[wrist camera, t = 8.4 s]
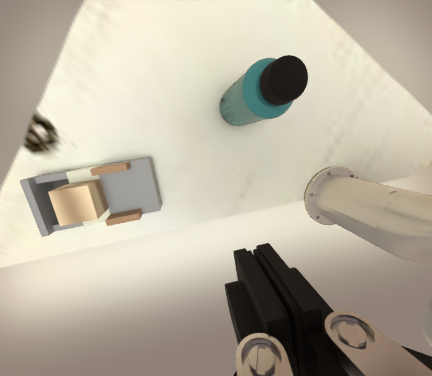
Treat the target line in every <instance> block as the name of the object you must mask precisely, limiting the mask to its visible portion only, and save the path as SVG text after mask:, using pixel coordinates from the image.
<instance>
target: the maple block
mask: <svg viewBox="0 0 432 376" xmlns="http://www.w3.org/2000/svg"><path fill="white" fill-rule="evenodd" d="M48 193H49V196H50V199H51V202H52V205H53V208H54V210H55V213H56V216H57V219H58V222H59V225H60V226H64V225H69V224H75V223H80V222H86V221H91V220H96V219H99V218H100V217H101V216H102V215H103V214H104V213H105V211H106V210H107V209H108V208H109V207H108V203H107V200H106V196H105V193H104V189H103V186H102V182H101V179H95V180H89V181H83V182H77V183H71V184H66V185H64V186H61V187H59V188H56V189H54V190H51V191H49V192H48Z"/></svg>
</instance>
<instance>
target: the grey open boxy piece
mask: <svg viewBox="0 0 432 376" xmlns="http://www.w3.org/2000/svg"><path fill="white" fill-rule="evenodd" d="M95 179H101V182H102V186H103V189H104V193H105V196H106V200H107V203H108V207H109V208H108V209H107V210H106V211H105V213H104V214H103V215H102V216H101V217H100V218H99V219H96V220H91V221H86V222H80V223H75V224H69V225H64V226H60V225H59V222H58V219H57V216H56V213H55V210H54V208H53V205H52V202H51V199H50V196H49V193H48V192H49V191H51V190H54V189H56V188H59V187H61V186H64V185H66V184H71V183H77V182H83V181H89V180H95ZM20 183H21V185H22V188H23V190H24V193H25V195H26V198H27V200H28V203H29V205H30V208H31V211H32V213H33V216H34V218H35V221H36V223H37V226H38V228H39V231H40V233H41V236H42V237H43V236H49V235H50V234H51V233H53V232H54V231H59V230H64V229H69V228H74V227H79V226H84V225H89V224H94V223H99V222H104V221H106V224H107V226H109V225H114V224H119V223H124V222H129V221H134V220H139V219H140V218H141V216H142V214H145V213H150V212H155V211H160V209H161V205H162V203H161V199H160V194H159V190H158V186H157V181H156V177H155V172H154V168H153V164H152V159H151V157H147V158H140V159H134V160H128V161H122V162H116V163H110V164H104V165H98V166H92V167H86V168H79V169H73V170H67V171H61V172H55V173H49V174H43V175H38V176H35V177H31V178H27V179H24V180H20Z"/></svg>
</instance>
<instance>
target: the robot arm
mask: <svg viewBox="0 0 432 376" xmlns="http://www.w3.org/2000/svg"><path fill="white" fill-rule="evenodd" d="M305 207H306V210H307V212H308V214H309V215H310V217H311V218H312V219H314V220H315V221H317V222H319V223H321V224H324V225H333V224H337V225H339V226H341V227H343V228H345V229H347V230H348V231H351V232H352V233H354V234H356V235H358V236H359V237H361V238H363V239H365V240H367V241H369V242H370V243H372V244H374V245H376V246H378V247H380V248H382V249H383V250H385V251H387V252H389V253H391V254H393V255H395V256H397V257H399V258H402V259H405V260H409V261H415V262H417V261H418V262H431V261H432V196H431V195H427V194H422V193H417V192H412V191H408V190H403V189H400V188H395V187H390V186H386V185H382V184H378V183H373V182H369V181H365V180H360V179H358V178H357V177H356V175H355V174H354V173H353V172H352V171H350V170H348V169H346V168H342V167H330V168H327V169H325V170H323V171H321V172H319V173H318V174H317V175H316V176H315V177H314V178H313V179H312V180H311V182H310V183H309V185H308V187H307V190H306V193H305ZM253 253H254V255H253V254H252V252H251V251H247V250H246V249H245V248H244V249H240V250H236V251H234V258H235V265H236V271H237V278H238V281H235V282H231V283H227V284H225V290H226V296H227V301H228V306H229V310H230V315H231V319H232V323H233V327H234V331H235V334H236V338H237V342H238V348H237V351H236V366H237V367H236V368H237V370H236V373H235V374H234V376H432V357H431V356H428V355H425V354H422V353H420V352H417V351H414V350H411V349H409V348H406V347H403V346H400V345H399V344H398V343H396V342H395V341H394V340H392V339H391V338H390V337H389V336H388V335H387V334H385V333H384V332H383V331H382V330H380V329H379V328H378V327H377V326H375V325H374V324H373V323H372V322H370V321H369V320H367V319H366V318H364V317H363V316H360V315H358V314H356V313H353V312H349V311H336V312H334V311H333V310H332V309H331V308H330V307H329V305H328V304H327V303H326V302H325V301H324V300H323V298H322V297H321V296H320V295H319V294H318V293H317V292H316V290H315V289H314V288H313V287H312V286H311V285H310V284H309V282H308V281H307V280H306V279H305V278H304V277H303V276H302V274H301V273H300V272H299V271H298V270H297V269H296V268H289V267H288V266H287V265H286V264H285V262H284V261H283V260H282V259H281V258H280V256H279V255H278V254H277V253H276V251H275V250H274V249H273V248H272V246H271V245H270V244H269V243H266V244H262V245H258V246H257V249H254V250H253ZM422 327H423V333H424V335H425V338H426V339H427V341H428V343H429V344H430V345H431V347H432V297H431V299H430V302H429V304H428V307H427V309H426V311H425V314H424V317H423V322H422Z"/></svg>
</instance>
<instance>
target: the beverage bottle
mask: <svg viewBox="0 0 432 376" xmlns="http://www.w3.org/2000/svg"><path fill="white" fill-rule="evenodd" d="M307 81H308V73H307V69H306V66H305V65H304V63H303V62H302V61H301V60H300V59H299V58H297V57H295V56H290V55H287V56H283V57H280V58H279V59H274V58H266V59H262V60H259V61H257V62H256V63H254V64H253V65H252V66H251V67H250V68H249V69H248V71H247V72H246V73H245V74H244V75H243V76H242V77H241V78H240V79H239V80H238V81H237V82H236V83H234V84H233V85H231V86H232V87H231V86H230V87H231V88H230V87H229V88H230V89H229V88H228V89H229V90H228V89H227V90H228V91H227V92H226V93H225V94H223V96H222V99H221V101H220V102H221V103H220V110H221V112H220V113H221V114H222V116H223V118H224V119H225V120H226V121H227V122H228V123H230V124H232V125H238V126H239V125H243V126H244V124H248V123H253V122H257V121H260V120H264V119H272V118H276V117H278V116H280V115H282V114H283V113H285V112H286V111H287V110H288V108H289V107H290V106H291V104H292V102H293V100H295V99H297V98H298V97H299V96H300V95H301V94H302V93H303V92H304V90H305V88H306V85H307Z"/></svg>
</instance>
